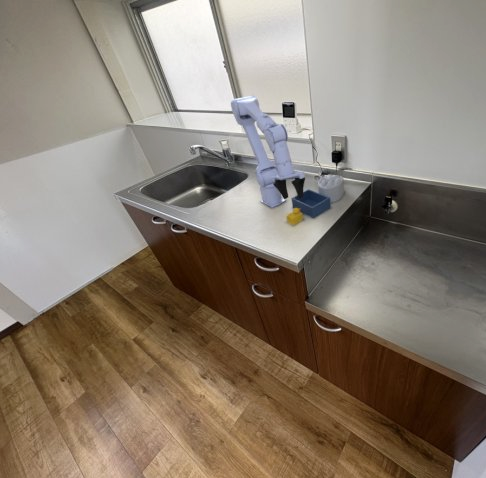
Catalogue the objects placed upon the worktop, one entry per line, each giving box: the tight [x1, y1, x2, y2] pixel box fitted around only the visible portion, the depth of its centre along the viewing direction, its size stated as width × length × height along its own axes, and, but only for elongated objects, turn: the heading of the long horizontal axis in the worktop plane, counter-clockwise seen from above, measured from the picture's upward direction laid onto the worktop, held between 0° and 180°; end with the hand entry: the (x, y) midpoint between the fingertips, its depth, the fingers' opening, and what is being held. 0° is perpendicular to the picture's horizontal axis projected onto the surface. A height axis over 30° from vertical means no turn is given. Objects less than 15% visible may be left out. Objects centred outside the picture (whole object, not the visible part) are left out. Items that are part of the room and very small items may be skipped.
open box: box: [291, 188, 332, 219], centre depth 106 cm, size 13×10×5 cm
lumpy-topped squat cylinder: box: [317, 174, 345, 204], centre depth 111 cm, size 10×13×9 cm
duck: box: [285, 208, 304, 226], centre depth 100 cm, size 4×6×6 cm
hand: (293, 198), depth 94 cm, fingers open, 7 cm apart
